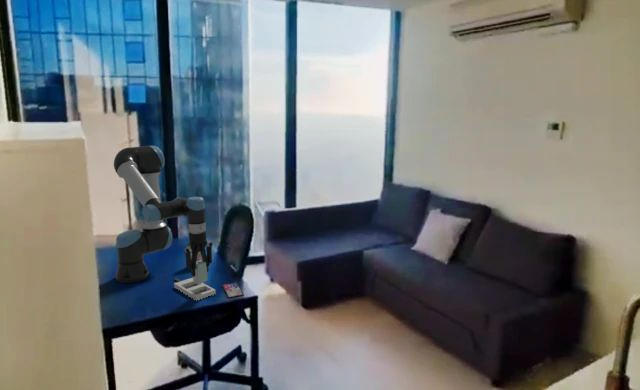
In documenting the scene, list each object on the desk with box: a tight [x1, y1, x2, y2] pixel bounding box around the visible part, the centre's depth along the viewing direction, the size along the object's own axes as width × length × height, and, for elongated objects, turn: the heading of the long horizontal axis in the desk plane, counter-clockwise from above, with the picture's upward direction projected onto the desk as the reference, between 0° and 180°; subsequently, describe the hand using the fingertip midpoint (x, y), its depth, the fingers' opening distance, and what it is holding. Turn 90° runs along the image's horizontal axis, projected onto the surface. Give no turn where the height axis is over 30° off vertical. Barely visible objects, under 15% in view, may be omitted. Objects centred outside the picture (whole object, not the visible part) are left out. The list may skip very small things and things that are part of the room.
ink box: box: [186, 241, 203, 262], centre depth 240 cm, size 7×4×13 cm, turn 120°
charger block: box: [196, 260, 208, 284], centre depth 206 cm, size 4×4×9 cm
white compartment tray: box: [173, 277, 217, 302], centre depth 215 cm, size 28×10×2 cm, turn 45°
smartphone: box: [221, 282, 245, 299], centre depth 213 cm, size 8×1×15 cm
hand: (200, 280), depth 206 cm, fingers closed on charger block, 4 cm apart
